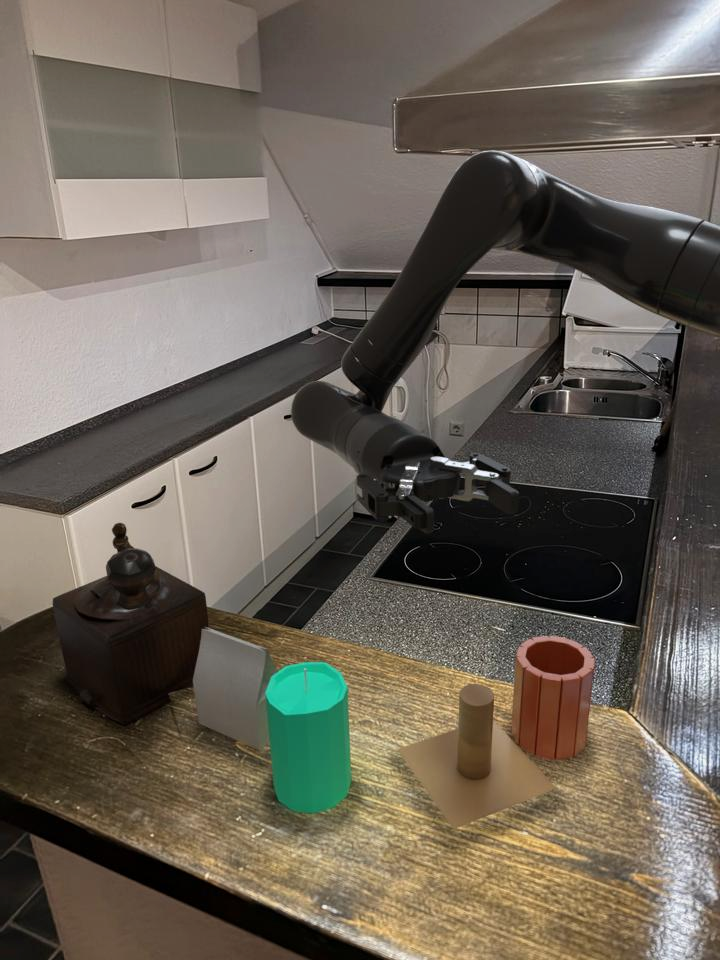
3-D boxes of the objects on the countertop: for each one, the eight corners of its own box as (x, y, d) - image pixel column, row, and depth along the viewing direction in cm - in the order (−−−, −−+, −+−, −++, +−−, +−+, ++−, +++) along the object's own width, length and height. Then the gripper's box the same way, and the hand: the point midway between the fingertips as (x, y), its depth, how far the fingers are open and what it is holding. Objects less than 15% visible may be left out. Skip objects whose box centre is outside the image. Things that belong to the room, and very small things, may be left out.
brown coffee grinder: (58, 685, 73) (21, 515, 67) (156, 635, 81) (132, 478, 74) (149, 760, 63) (117, 570, 57) (251, 696, 71) (234, 521, 64)
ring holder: (490, 730, 66) (494, 647, 63) (555, 803, 58) (563, 712, 55) (396, 763, 62) (395, 677, 59) (452, 844, 55) (455, 751, 52)
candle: (299, 761, 63) (290, 637, 58) (365, 783, 60) (360, 656, 56) (259, 812, 58) (246, 682, 54) (329, 839, 56) (321, 705, 51)
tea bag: (261, 764, 63) (252, 663, 59) (200, 736, 66) (187, 638, 62) (288, 737, 66) (280, 639, 62) (228, 712, 69) (217, 617, 65)
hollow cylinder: (539, 713, 68) (546, 627, 64) (599, 748, 63) (609, 657, 60) (496, 746, 64) (500, 656, 61) (556, 785, 60) (564, 690, 56)
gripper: (328, 433, 77) (401, 488, 63) (451, 412, 82) (543, 459, 68) (331, 501, 79) (401, 569, 66) (450, 477, 85) (538, 535, 71)
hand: (473, 513), depth 67 cm, fingers open, 8 cm apart
